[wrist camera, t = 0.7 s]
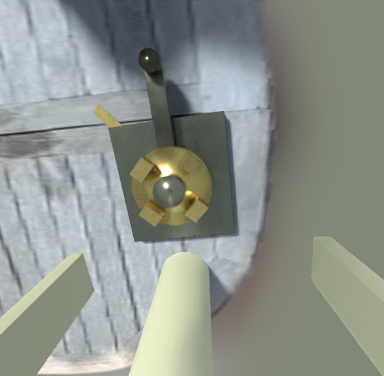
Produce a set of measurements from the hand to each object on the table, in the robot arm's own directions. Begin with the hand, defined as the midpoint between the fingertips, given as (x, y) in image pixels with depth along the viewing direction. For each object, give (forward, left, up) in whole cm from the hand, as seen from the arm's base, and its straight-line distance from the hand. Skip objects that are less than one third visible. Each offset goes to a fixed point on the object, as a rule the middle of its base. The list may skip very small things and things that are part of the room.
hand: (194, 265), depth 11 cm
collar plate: (-2, -6, -23) cm, 24 cm away
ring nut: (-6, -4, -20) cm, 22 cm away
